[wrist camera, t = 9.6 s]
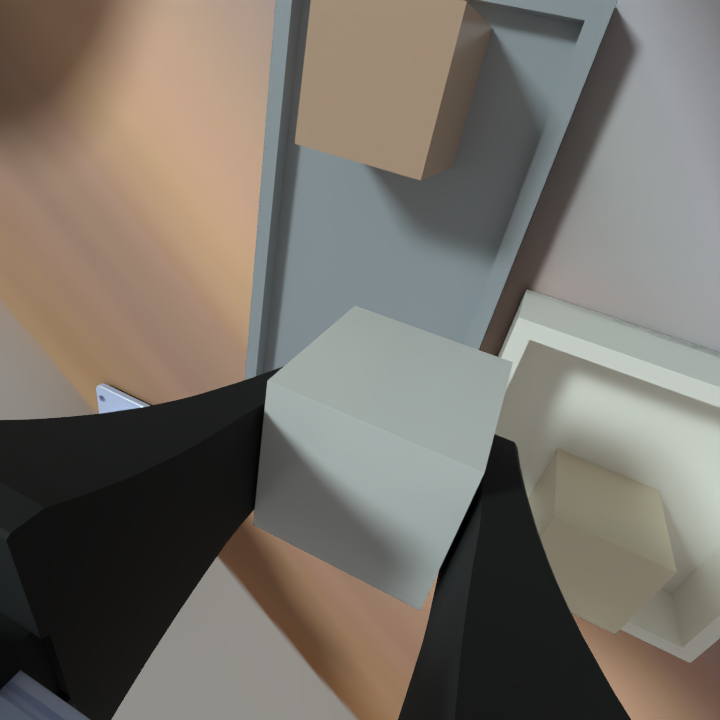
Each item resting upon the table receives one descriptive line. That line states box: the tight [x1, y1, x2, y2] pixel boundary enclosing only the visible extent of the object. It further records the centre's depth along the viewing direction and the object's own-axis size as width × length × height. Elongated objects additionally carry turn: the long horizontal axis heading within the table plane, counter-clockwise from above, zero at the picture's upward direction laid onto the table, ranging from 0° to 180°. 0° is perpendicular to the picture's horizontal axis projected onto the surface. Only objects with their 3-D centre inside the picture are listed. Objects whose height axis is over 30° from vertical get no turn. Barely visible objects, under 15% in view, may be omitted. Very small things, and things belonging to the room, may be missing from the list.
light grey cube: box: [253, 306, 513, 610], centre depth 10 cm, size 4×4×4 cm
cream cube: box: [528, 449, 677, 634], centre depth 18 cm, size 4×4×4 cm
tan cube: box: [295, 0, 493, 180], centre depth 14 cm, size 4×4×4 cm
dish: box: [495, 289, 720, 663], centre depth 18 cm, size 11×11×3 cm
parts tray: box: [245, 0, 617, 380], centre depth 18 cm, size 18×10×1 cm, turn 166°
